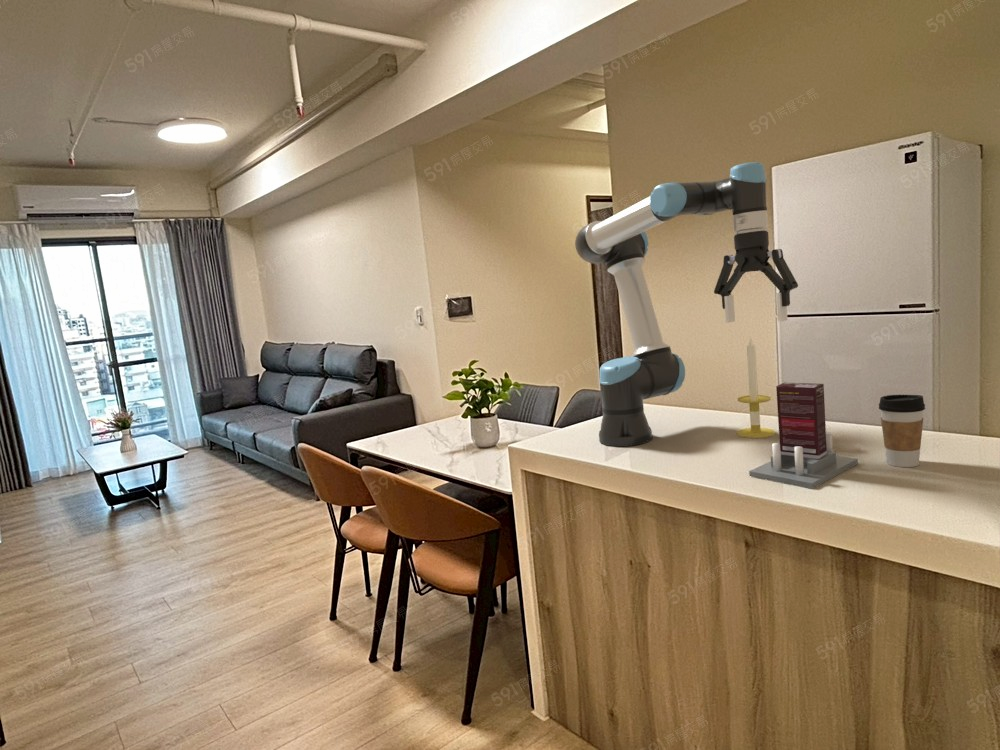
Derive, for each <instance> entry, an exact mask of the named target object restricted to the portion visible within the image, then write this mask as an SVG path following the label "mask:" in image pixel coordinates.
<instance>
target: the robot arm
mask: <svg viewBox="0 0 1000 750" xmlns="http://www.w3.org/2000/svg"><path fill="white" fill-rule="evenodd" d="M765 169H766V168H765V165H764V164H763V163H762V162H760V161H754V162H753V161H752V162H745V163H740V164H736V165H734V166H732V167H731V168H730V171H729V173H730V174H729V177H727V178H722V179H719V180H714V181H695V182H694V181H693V182H692V181H691V182H688V181H687V182H673V181H672V182H671V181H670V182H666V183H660V184H658V185H656V186H655V187H654V188H653V190H652V191H651V194H650V195H648V197H645V198H643V199H641V200H640V201H638V202H636V203H634V204H633V205H630V206H628V207H626V208H625V209H623V210H621V211H619V212H617V213H615V214H614V215H611V216H609V217H608V218H606V219H603V220H594V221H591V222H590V223H589V224H587V225H585V226H583V227H581V229H580V230H579V231H578V232H577V234H576V237H575V241H574V244H575V245H574V247H575V250H576V253H577V255H578V256H579V258H581V259H582V260H583V261H585V262H587V263H590V264H594V265H595V264H596V265H597V264H598V265H599V264H605V266H606V270H607V273H609V274H611V275H612V276H613V277H614V280H615V285H616V288H617V290H618V295H619V299H620V302H621V305H622V309H623V312H624V315H625V320H626V323H627V327H628V330H629V334H630V337H631V341H632V344H633V349H634V351H633V353H632V355H631V356H623V357H618V358H614V359H613V358H612V359H611V360H608V361H605V362H604V363H603V364H601V366H600V368H599V379H598V382H599V386H600V393H601V394H600V395H601V396H600V397H601V407H602V419H601V424H600V430H599V432H598V441H599V443H601V444H603V445H607V446H612V447H628V446H636V445H641V444H645V443H648V442H649V441H651V440H652V439H653V433H652V432H653V431H652V428H651V427H650V426H649V422H648V419H647V417H646V414H645V411H644V410H645V409H644V400H647V399H653V398H656V397H661V396H667V395H669V394H672V393H674V392H676V391H678V390H680V389H681V387H682V386H683V383H684V382H685V378H686V366H685V363H684V361H683V359H682V358H681V357H680V356H679V355H678V354H676V353H673V352H672V349H671V345H668V343H666V342H664V340H663V337H662V333H661V330H660V327H659V322H658V319H657V315H656V312H655V309H654V306H653V301H652V298H651V295H650V291H649V287H648V284H647V282H646V281H647V280H646V278H645V274H644V271H643V265H644V263H645V262H646V258H645V256H646V254H647V253H648V247H649V237H648V234H647V233H646V231H648V230H650V229H653V228H656V227H657V226H659V225H662V224H663V223H666V222H668V221H670V220H673V219H675V218H677V217H680V216H687V215H688V216H689V215H697V216H707V215H708V216H710V215H714V214H716V213H721V212H725V211H729V210H732V211H731V212H732V220H733V221H732V226H733V232H734V233H736V234H734V236H733V244H734V249H735V255H733V254H727V255H724V256H723V265H722V268H721V270H720V273H719V276H718V279H717V281H716V284H715V286H714V290H713V293H714V294H715V295H719V296H720V297H721V307H722V309H723V310H724V312H725V323H727V324H729V323H732V322H736V315H735V301H734V297H735V296H734V295H733V294H732V292H733V290H734V289H735V287H736V286H737V284H738V283H739V281H740V280H741V278H742V277H743V276H744V275H745V274H746V273H749V272H758V271H759V272H761V273H763V274H764V275H765V277H766V278H767V279H769V282H771V283H772V284H773V285H774V286H775V288H777V289H778V292H777V293H776V308H777V322H786V321H788V307H789V306H791V305H790V304H791V296H790V293H791V291H792V290H794V289H797V288H798V287H799V284H798V282H797V280H796V278H795V277H794V274H793V273H792V271H791V270H790V267H789V265H788V264H787V262H786V260H785V258H784V252H783V250H782V249H781V248H776V249H773V250H771V251H770V249H769V244H770V242H769V241H770V240H769V239H770V238H769V231H768V230H766V229H768V227H769V219H768V217H769V216H768V206H767V178H766V177H767V176H766V171H765ZM769 259H771V260H772V261H773V264H774V265H775V267H776V269H777V271H778V272H777V271H776V270H775V269H774V268H773V266H772V264H771V263H770V262H769ZM735 263H736V267H735V268H734V264H735ZM733 268H734V269H733ZM732 270H733V273H731V272H732ZM779 274H780V275H779ZM730 275H731V276H730Z"/></svg>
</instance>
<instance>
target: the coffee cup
mask: <svg viewBox="0 0 1000 750" xmlns="http://www.w3.org/2000/svg"><path fill="white" fill-rule="evenodd" d="M878 410H880V414H881V417H880V422H881V428H882V429H881V430H882V437H883V443H884V450H885V451H884V452H885V459H886V460H885V461H886V463H887V464H888V465H889V466H892V467H898V468H915V467H917V466H919V465H920V456H921V446H922V444H921V443H922V435H923V425H924V417H923V414H924V411H925V410H926V404H925V401H924V396H923V395H919V394H888V395H887V394H886V395H883V396H881V397H880V399H879V403H878Z"/></svg>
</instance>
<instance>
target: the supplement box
mask: <svg viewBox="0 0 1000 750" xmlns="http://www.w3.org/2000/svg"><path fill="white" fill-rule="evenodd" d="M824 385H825V384H824V383H811V382H810V383H808V382H807V383H806V382H805V383H804V382H782V383H780V384H778V385H776V386H775V388H776V405H777V407H776V408H777V421H778V422H777V423H778V434H779V435H778V438H779V443H780V451H781V455H788V456H795V451H794V447H796V446H801V447H803V457H805V458H814V459H820V458H822V457H823V456H824V455H826V454H827V445H826V433H827V430H826V429H827V427H826V426H827V425H826V409H825V386H824Z"/></svg>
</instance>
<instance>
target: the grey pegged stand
mask: <svg viewBox="0 0 1000 750" xmlns="http://www.w3.org/2000/svg"><path fill="white" fill-rule="evenodd" d="M826 445H827V454H826V455H824V456H823V457H822V458H820V459H814V458H805V457H803V447H801V446H796V447H794V451H795V456H788V455H781V451H780V442H774V443H772V444H771V449H772V455H771V456H770V461H769V462H766V463H764V464H761V465H760V466H758V467H755V468H753V469H751V470H748V471H749V472H748V473H749V474H748V475H749V477H750V476H751V477H752V478H755V477H756V479H760V478H761V480H765V479H767V480H766V481H770V480H772V482H775V481H776V483H782V484H784V485H785V484H786V485H791V486H796V487H800V488H805V489H812V490H813V489H815V488H817V487H819V486H820V485H822V484H824V483H825V482H828V481H829V480H831V479H833V478H835V477H836V476H838V475H840V474H842V473H843V472H845V471H847V470H849V469H851V468H853V467H854V466H855V467H856V465H858V464H859V459H858V458H857V457H851V456H850V457H849V456H845V455H837V452H836V451H834V450H833V449H834V447H833V432H826ZM751 477H750V478H751Z"/></svg>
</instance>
